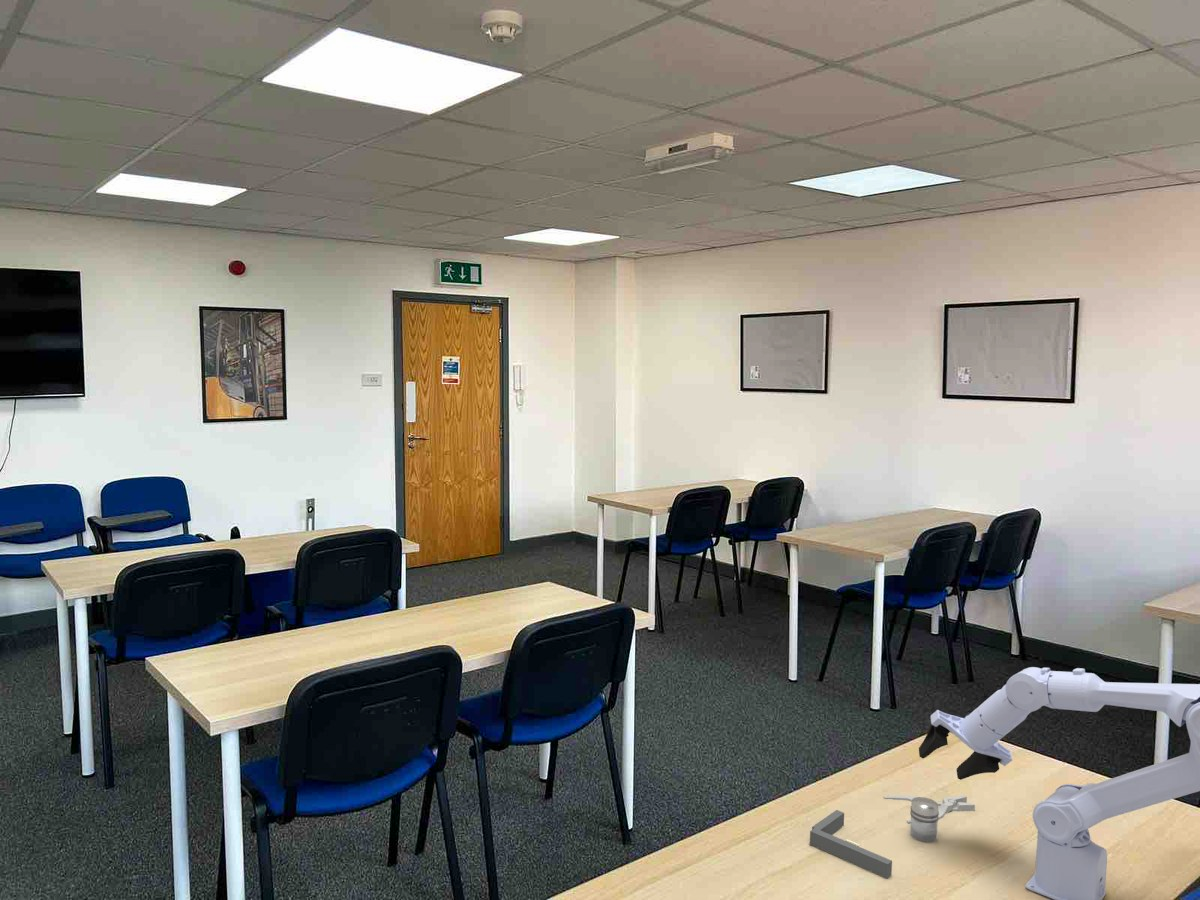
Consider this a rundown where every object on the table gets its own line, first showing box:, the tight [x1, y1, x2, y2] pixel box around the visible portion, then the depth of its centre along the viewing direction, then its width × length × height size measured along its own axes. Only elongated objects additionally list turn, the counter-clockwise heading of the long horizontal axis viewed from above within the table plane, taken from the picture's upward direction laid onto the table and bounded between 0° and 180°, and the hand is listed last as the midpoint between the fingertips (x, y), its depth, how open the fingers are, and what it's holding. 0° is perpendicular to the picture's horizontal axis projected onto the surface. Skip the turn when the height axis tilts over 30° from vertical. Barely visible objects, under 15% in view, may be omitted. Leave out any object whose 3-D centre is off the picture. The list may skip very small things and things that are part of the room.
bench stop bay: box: [809, 809, 893, 879], centre depth 144 cm, size 14×10×2 cm
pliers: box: [882, 794, 976, 824], centre depth 159 cm, size 10×2×15 cm
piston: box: [909, 796, 939, 844], centre depth 149 cm, size 5×5×6 cm
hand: (939, 763), depth 148 cm, fingers open, 7 cm apart
